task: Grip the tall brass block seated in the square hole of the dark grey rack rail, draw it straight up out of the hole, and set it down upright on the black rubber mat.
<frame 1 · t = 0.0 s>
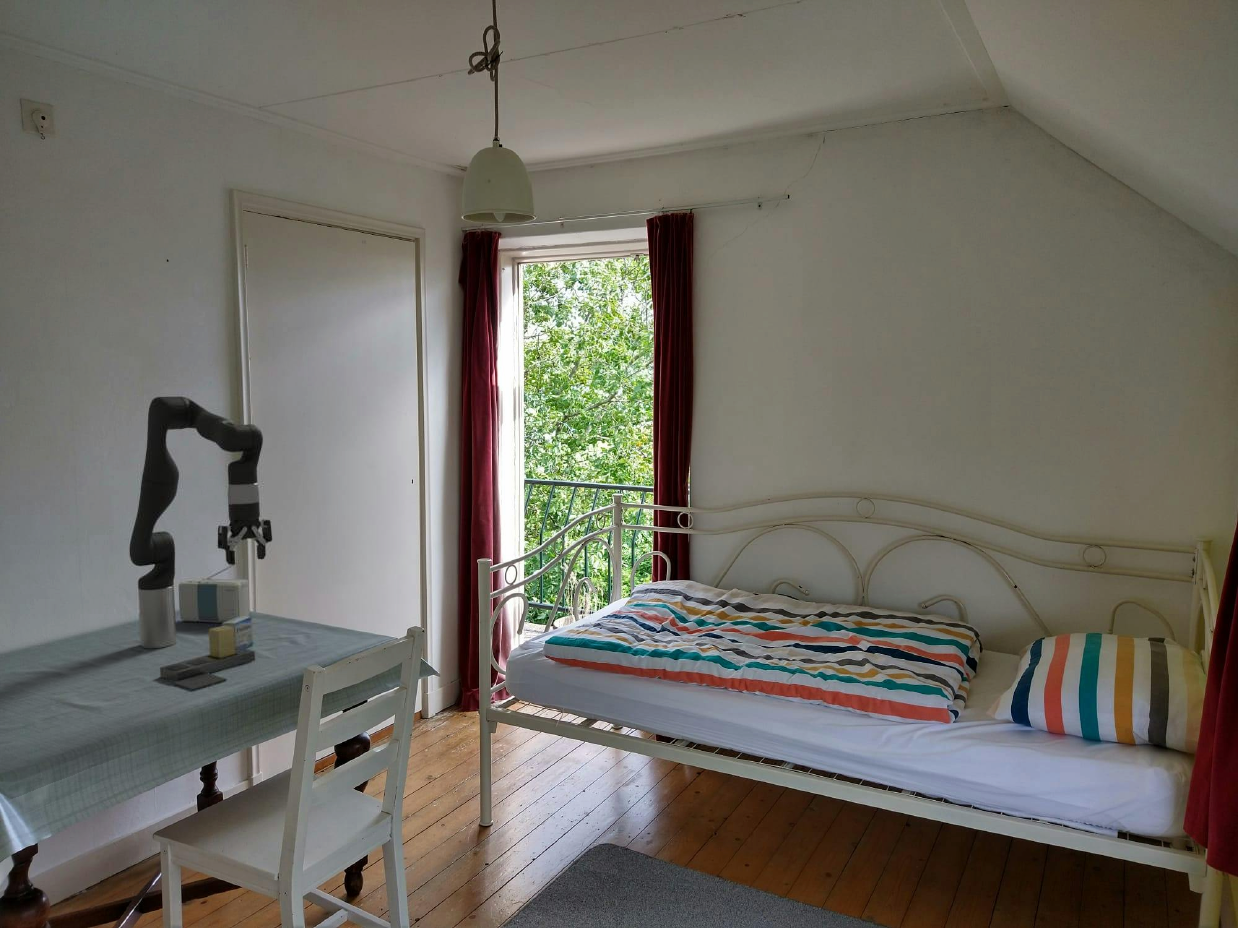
hand: (246, 561, 228), 29 cm above the table, tool pointing down, fingers open, 8 cm apart
rubber mat: (199, 682, 221), on the table
rack rail: (209, 668, 232), on the table
medicine box: (238, 649, 250), on the table
stereo radio cassette player: (216, 621, 282), on the table
brass block: (223, 664, 236), resting in rack rail
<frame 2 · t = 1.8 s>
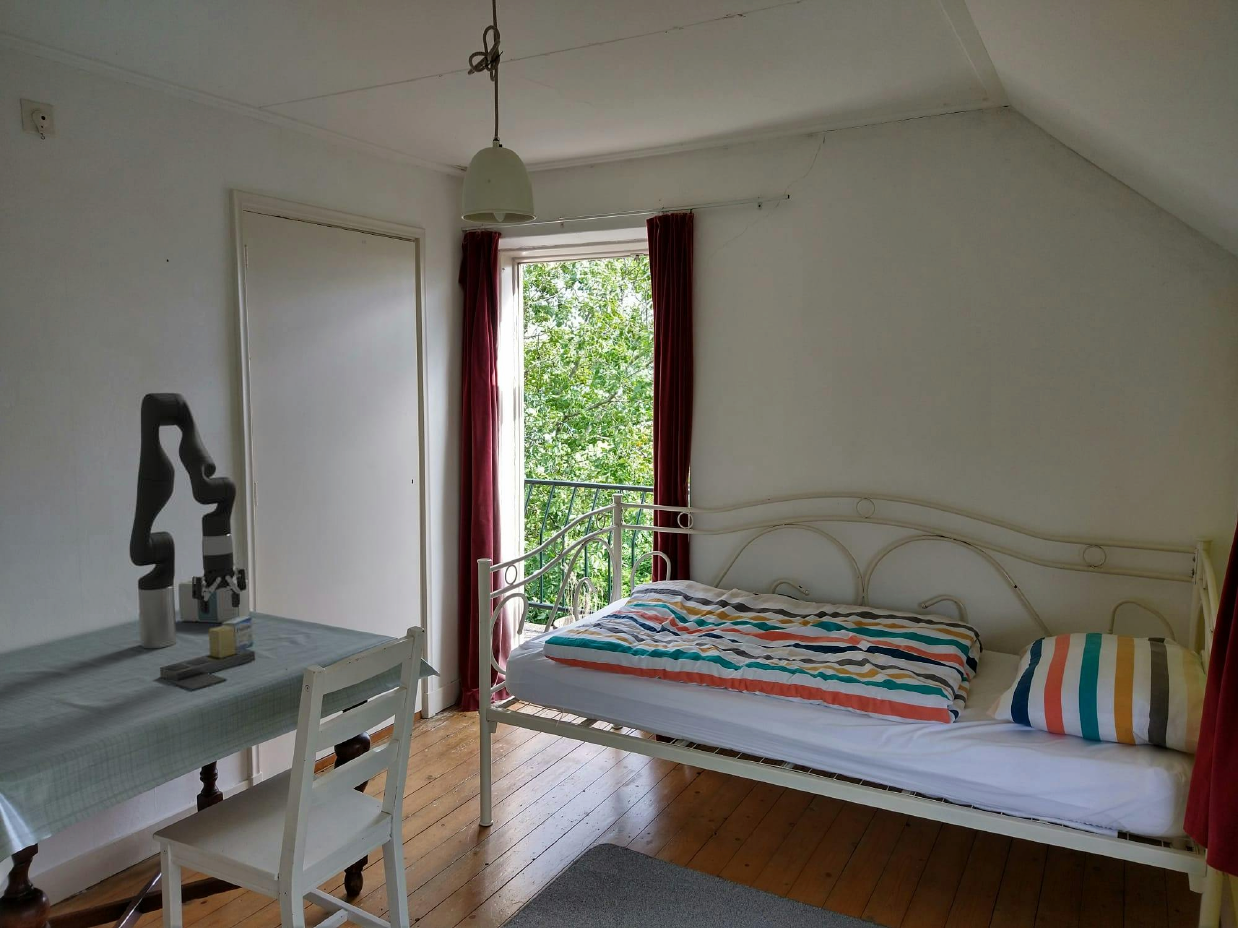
hand: (220, 610, 235), 15 cm above the table, tool pointing down, fingers open, 8 cm apart
nothing on the table moved.
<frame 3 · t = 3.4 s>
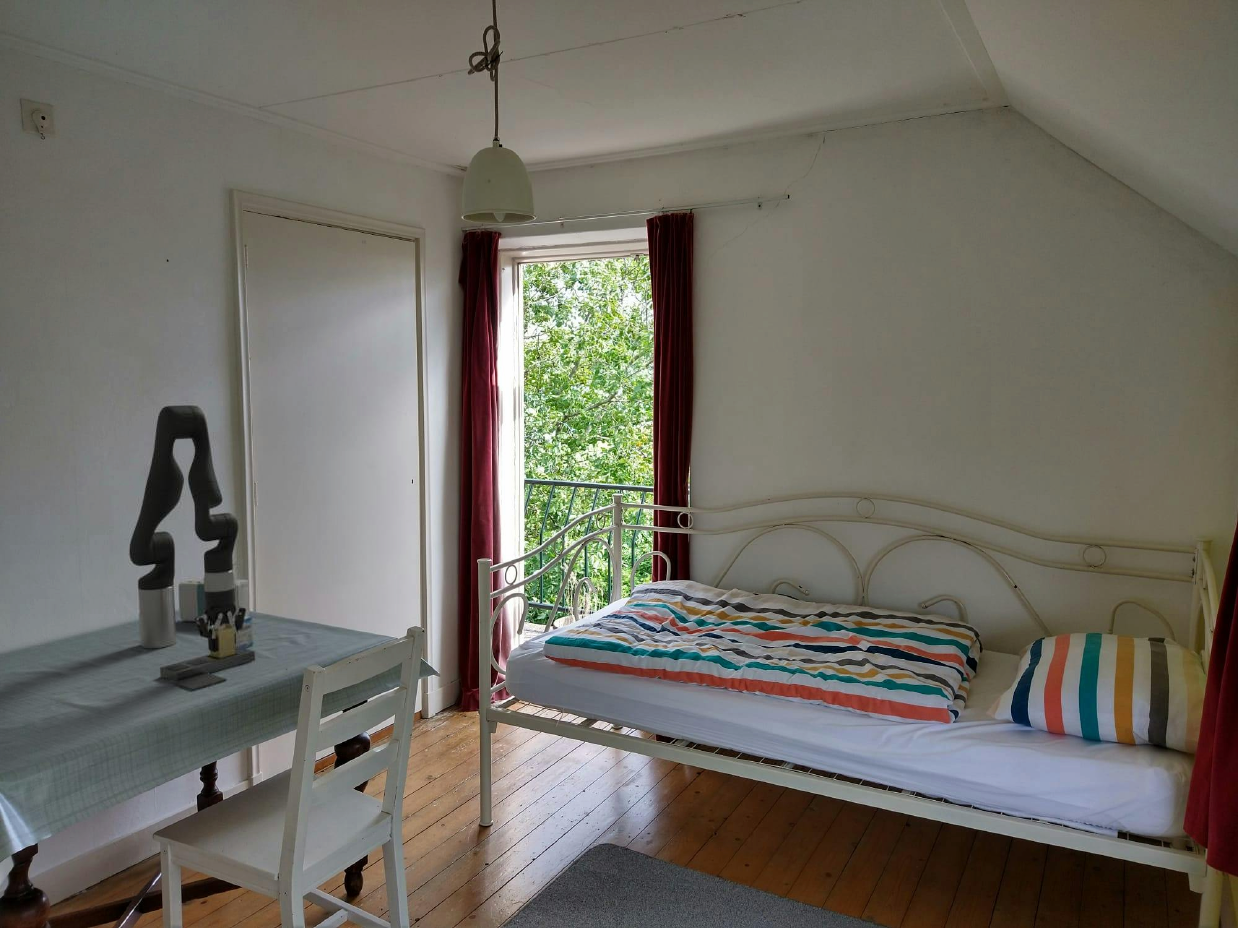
hand: (222, 648, 235), 4 cm above the table, tool pointing down, fingers closed on brass block, 4 cm apart
brass block: (223, 664, 236), resting in rack rail, touching gripper
everything else where it was.
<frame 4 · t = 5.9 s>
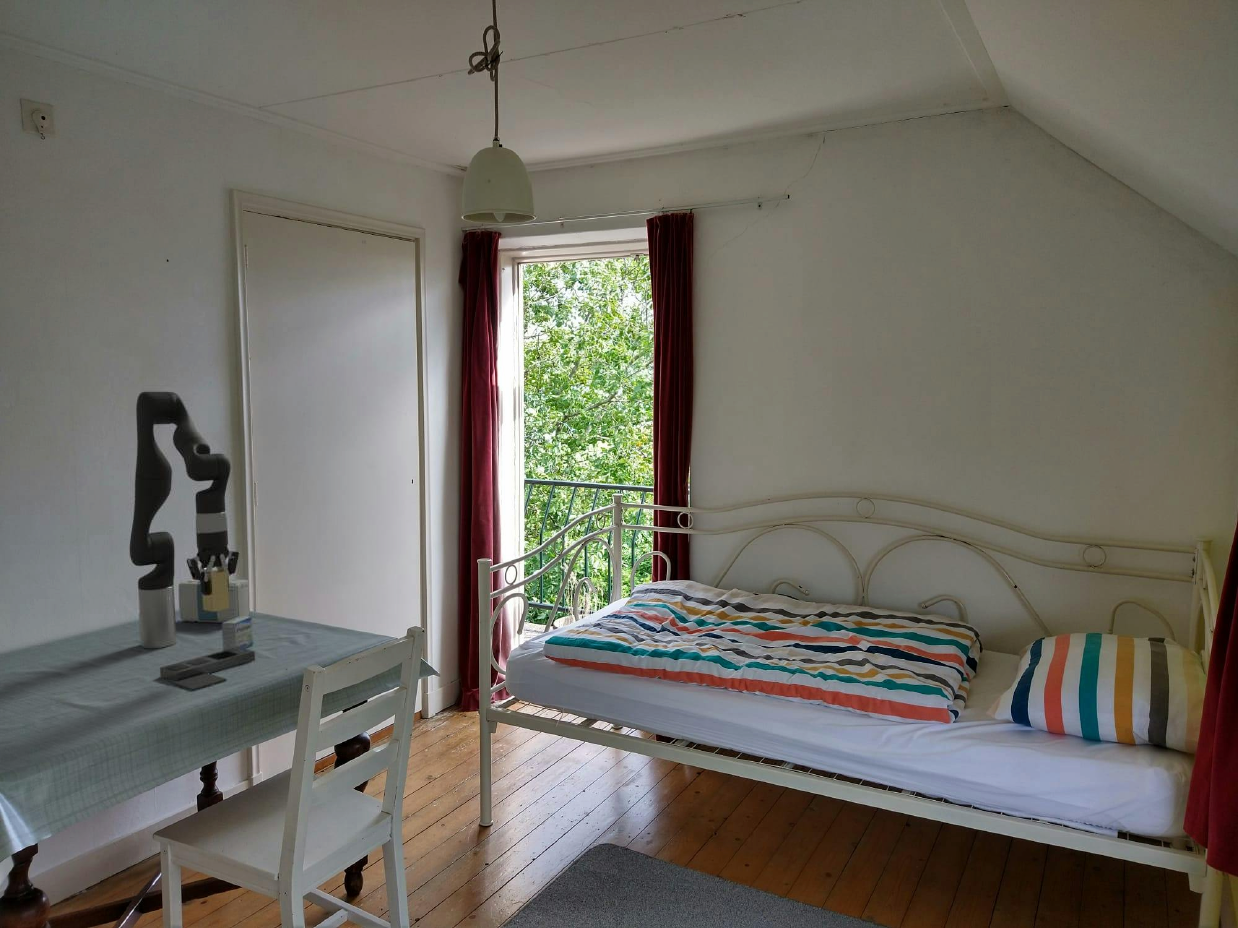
hand: (215, 592, 230), 21 cm above the table, tool pointing down, fingers closed on brass block, 4 cm apart
brass block: (216, 608, 230), point 16 cm above the table, touching gripper
everything else where it was.
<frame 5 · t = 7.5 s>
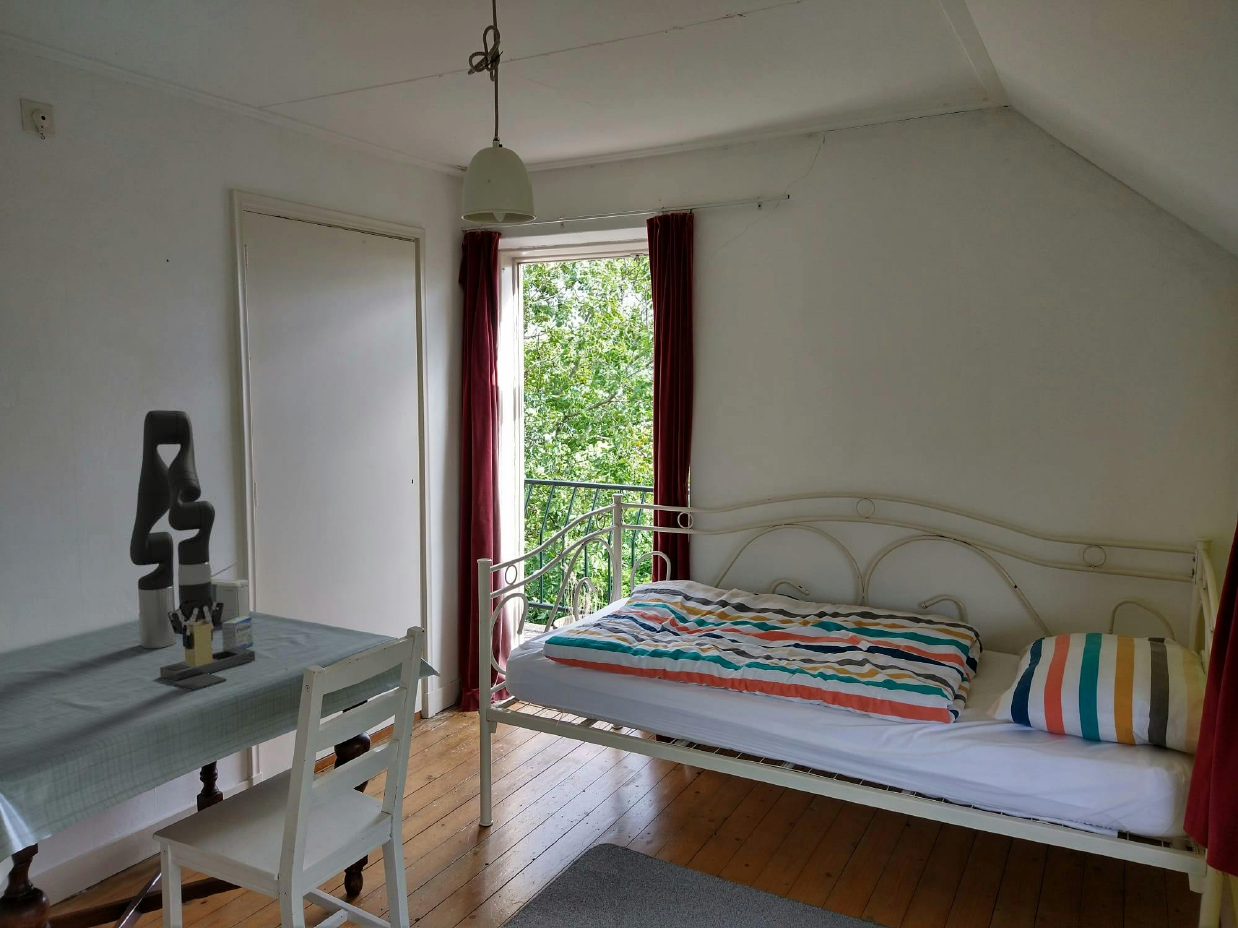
hand: (198, 646, 220), 10 cm above the table, tool pointing down, fingers closed on brass block, 4 cm apart
brass block: (199, 662, 220), point 5 cm above the table, touching gripper
everything else where it was.
when the fingers open (6 cm above the table, at t = 8.5 s): brass block stays where it is, resting on rubber mat.
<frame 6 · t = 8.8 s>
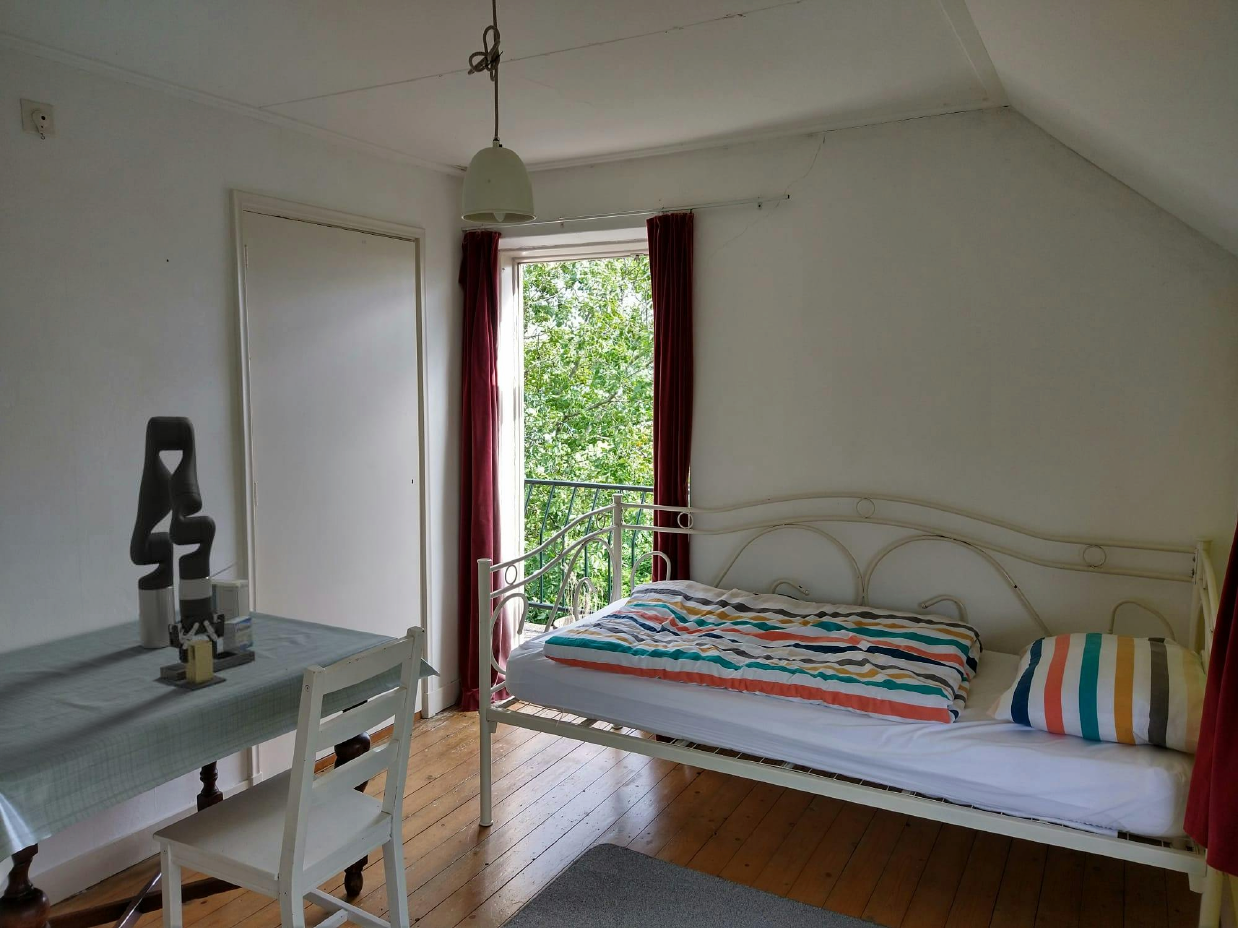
hand: (198, 658, 220), 6 cm above the table, tool pointing down, fingers open, 6 cm apart
brass block: (200, 680, 221), resting on rubber mat
everything else where it was.
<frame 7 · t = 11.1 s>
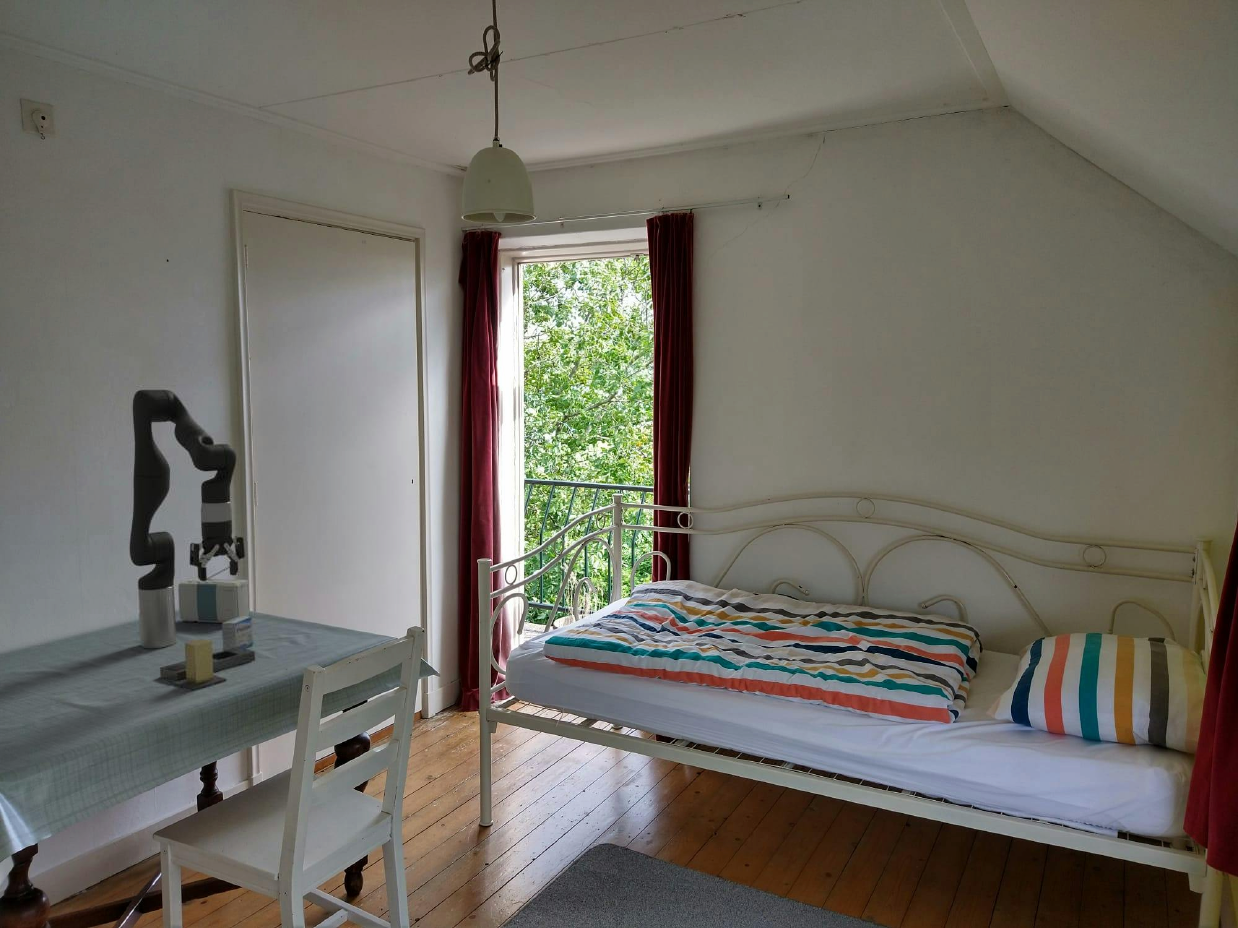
hand: (218, 577, 234), 24 cm above the table, tool pointing down, fingers open, 8 cm apart
nothing on the table moved.
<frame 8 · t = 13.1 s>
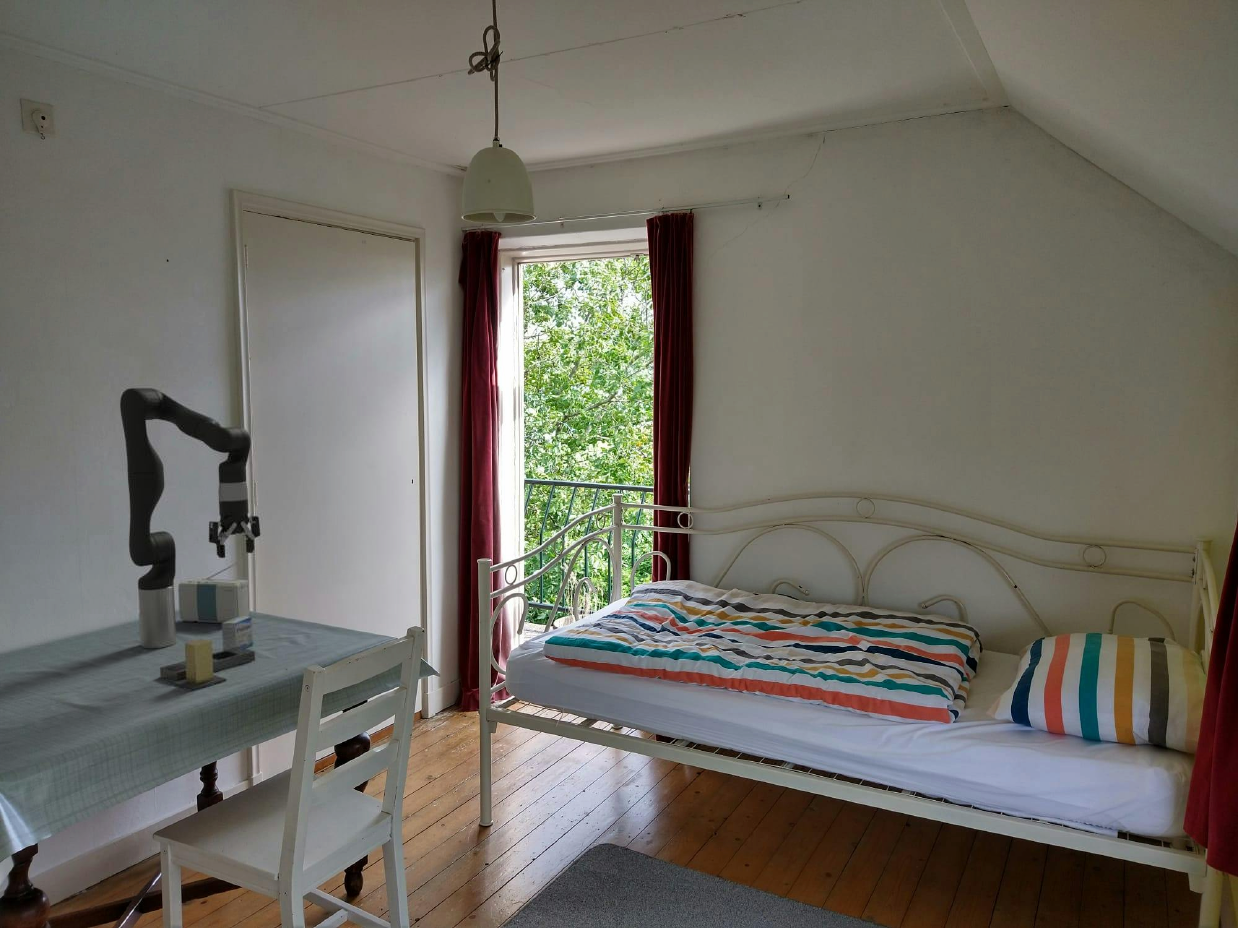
hand: (235, 555, 244), 28 cm above the table, tool pointing down, fingers open, 8 cm apart
nothing on the table moved.
at the end: brass block inside the target area on the rubber mat (0.1 cm from its centre), point 0.5 cm above the rubber mat's base; brass block tilted 0°; the gripper is holding nothing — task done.
